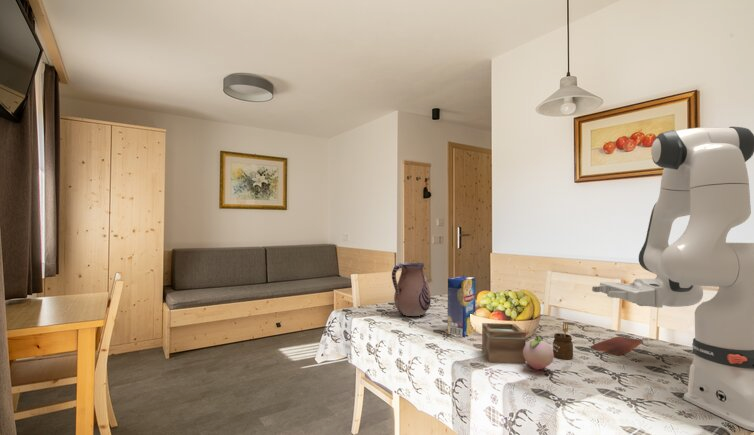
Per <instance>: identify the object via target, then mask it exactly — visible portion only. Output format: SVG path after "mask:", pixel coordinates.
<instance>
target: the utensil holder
mask: <svg viewBox="0 0 754 435" xmlns="http://www.w3.org/2000/svg"><path fill="white" fill-rule="evenodd" d="M557 325H559V327H557V330H558V332H557V333H554V335H553V338H554V339H553V340H552V350H553V353H554V358H555V357H556V358H557V359H561V360H571V359H573V357H574V343H573V341H572V339H573V338H572V335H570V334H568V333H567V332H569V322H564V321H561V322H558V324H557ZM561 325H562V326H561ZM560 327H562V331H560Z"/></svg>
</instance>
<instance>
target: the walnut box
mask: <svg viewBox="0 0 754 435" xmlns="http://www.w3.org/2000/svg"><path fill="white" fill-rule="evenodd" d="M481 328H482V330H481V336H482V338H481V348H482V349H481V350H482V351H481V352H482V353H483V355H484V356H485V358H486V359H487V361H488V363H496V364H497V363H499V364H526V363H527V362H526V360H525V358H524V355H523V349H524V347H525V345H526V343H527V342H526V340H527V339H526V332H525V331H524V330H522V328H520V326H518V325H517V324H516V323H496V322H495V323H493V322H491V323H490V322H489V323H488V322H482V323H481Z"/></svg>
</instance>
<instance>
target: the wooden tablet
mask: <svg viewBox="0 0 754 435" xmlns="http://www.w3.org/2000/svg"><path fill="white" fill-rule="evenodd" d="M642 343H643V340H642V339H635V338H631V337H630V338H629V337H625V338H624V336H623V337H622V336H615V337H611V338H608V339H605V340H602V341H599V342H596V343H595V344H592V345H591V346H590V350H594V351H597V352H604V353H606V354H609V355H613V356H621V355H625V354H627V353H629V352H630V351H632V350H634V349H636V347H638V346H640V345H641V344H642Z"/></svg>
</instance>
